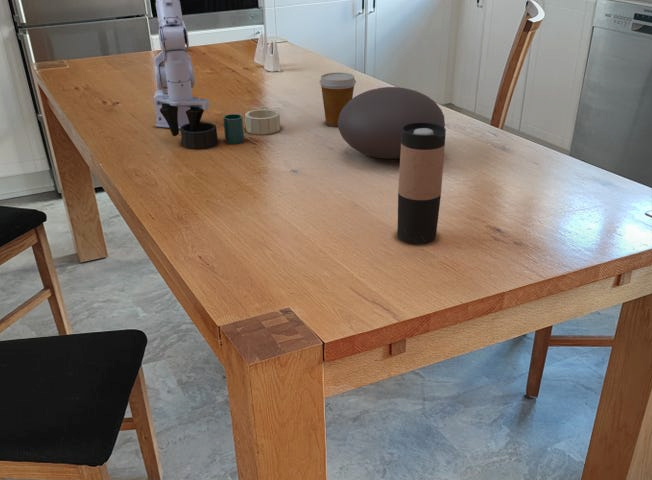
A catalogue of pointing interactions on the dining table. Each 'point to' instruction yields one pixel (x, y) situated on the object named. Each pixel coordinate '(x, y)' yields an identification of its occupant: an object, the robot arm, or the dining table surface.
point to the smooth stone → (385, 119)
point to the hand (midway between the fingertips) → (185, 136)
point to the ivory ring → (262, 121)
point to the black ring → (199, 136)
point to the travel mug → (420, 181)
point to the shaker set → (267, 54)
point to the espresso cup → (233, 128)
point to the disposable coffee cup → (336, 94)
